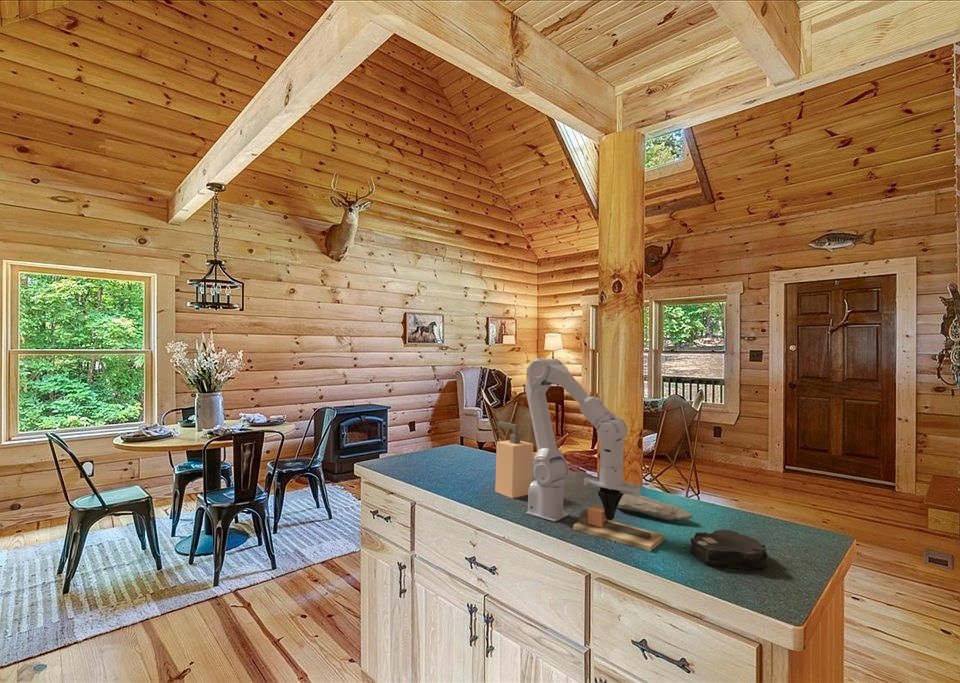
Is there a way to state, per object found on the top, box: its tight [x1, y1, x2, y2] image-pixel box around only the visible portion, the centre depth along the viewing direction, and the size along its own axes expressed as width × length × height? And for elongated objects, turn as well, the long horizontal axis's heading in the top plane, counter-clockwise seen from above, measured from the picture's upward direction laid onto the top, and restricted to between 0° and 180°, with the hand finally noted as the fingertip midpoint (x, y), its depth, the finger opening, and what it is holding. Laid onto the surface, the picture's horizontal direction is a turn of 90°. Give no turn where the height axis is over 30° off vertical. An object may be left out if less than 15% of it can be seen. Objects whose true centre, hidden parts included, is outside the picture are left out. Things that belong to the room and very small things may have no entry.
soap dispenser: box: [494, 420, 534, 499], centre depth 157 cm, size 13×9×22 cm
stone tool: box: [617, 494, 693, 521], centre depth 138 cm, size 12×5×25 cm
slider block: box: [587, 504, 609, 527], centre depth 125 cm, size 4×5×4 cm
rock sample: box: [690, 529, 769, 570], centre depth 109 cm, size 18×16×5 cm
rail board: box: [572, 507, 666, 552], centre depth 121 cm, size 20×10×4 cm, turn 51°
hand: (610, 518), depth 123 cm, fingers closed
